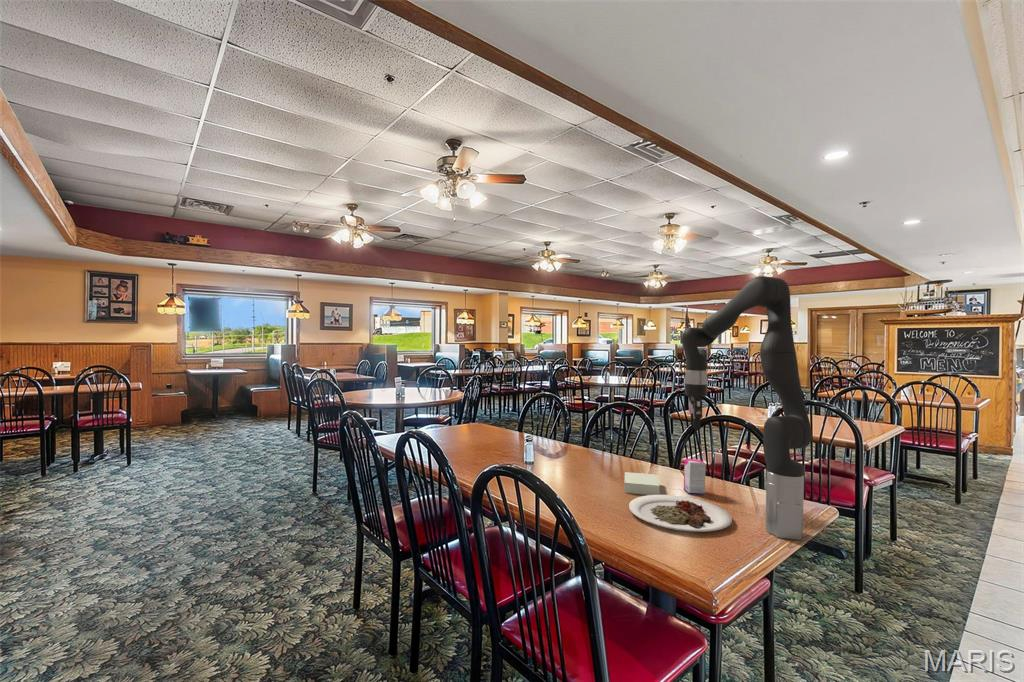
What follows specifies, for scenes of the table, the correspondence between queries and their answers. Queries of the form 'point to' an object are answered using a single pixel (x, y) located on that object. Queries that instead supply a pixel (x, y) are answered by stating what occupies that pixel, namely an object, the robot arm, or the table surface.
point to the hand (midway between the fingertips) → (695, 427)
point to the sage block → (641, 483)
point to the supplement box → (694, 476)
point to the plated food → (680, 513)
